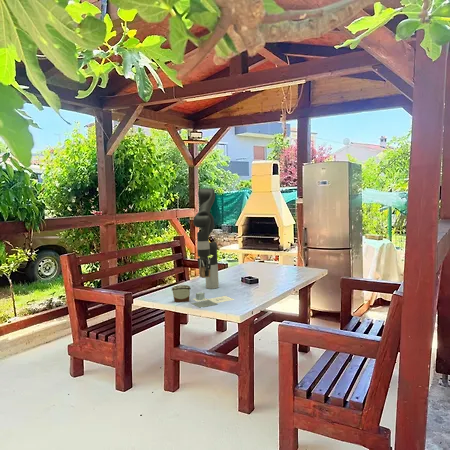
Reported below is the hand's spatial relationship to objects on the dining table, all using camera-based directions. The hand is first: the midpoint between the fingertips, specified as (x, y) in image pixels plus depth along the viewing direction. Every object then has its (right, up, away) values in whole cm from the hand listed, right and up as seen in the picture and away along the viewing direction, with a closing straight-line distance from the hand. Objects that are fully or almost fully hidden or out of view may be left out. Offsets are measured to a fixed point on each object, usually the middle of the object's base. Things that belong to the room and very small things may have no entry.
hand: (204, 275), depth 237 cm
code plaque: (+9, -17, +10) cm, 21 cm away
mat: (0, -18, +1) cm, 18 cm away
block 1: (0, -1, 0) cm, 1 cm away
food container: (-15, -18, +11) cm, 26 cm away
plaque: (-4, -17, +13) cm, 22 cm away
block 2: (-4, -17, +13) cm, 22 cm away
